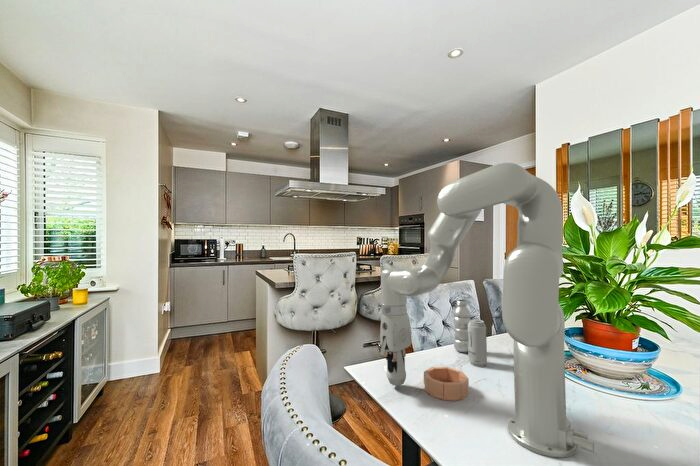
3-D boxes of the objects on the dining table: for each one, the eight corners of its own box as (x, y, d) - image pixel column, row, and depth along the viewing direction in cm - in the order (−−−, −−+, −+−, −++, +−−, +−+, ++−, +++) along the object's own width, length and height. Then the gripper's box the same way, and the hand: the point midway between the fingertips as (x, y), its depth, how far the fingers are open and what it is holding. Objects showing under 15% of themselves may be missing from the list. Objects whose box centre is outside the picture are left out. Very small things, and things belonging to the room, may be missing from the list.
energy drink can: (465, 360, 108) (464, 318, 109) (482, 360, 109) (481, 318, 109) (473, 367, 102) (472, 323, 103) (490, 367, 103) (489, 323, 103)
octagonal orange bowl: (474, 389, 87) (474, 374, 87) (456, 406, 78) (455, 389, 78) (437, 377, 95) (437, 363, 95) (416, 390, 87) (416, 375, 87)
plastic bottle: (474, 354, 114) (473, 301, 115) (457, 354, 114) (455, 302, 115) (468, 348, 121) (467, 298, 121) (451, 348, 121) (450, 298, 121)
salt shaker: (406, 387, 85) (404, 341, 86) (386, 386, 86) (384, 341, 87) (406, 379, 91) (405, 335, 92) (387, 377, 92) (386, 335, 93)
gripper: (387, 316, 81) (389, 385, 81) (419, 307, 93) (422, 367, 92) (366, 312, 87) (368, 377, 86) (400, 304, 98) (401, 361, 97)
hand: (396, 371), depth 89 cm, fingers closed on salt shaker, 3 cm apart
